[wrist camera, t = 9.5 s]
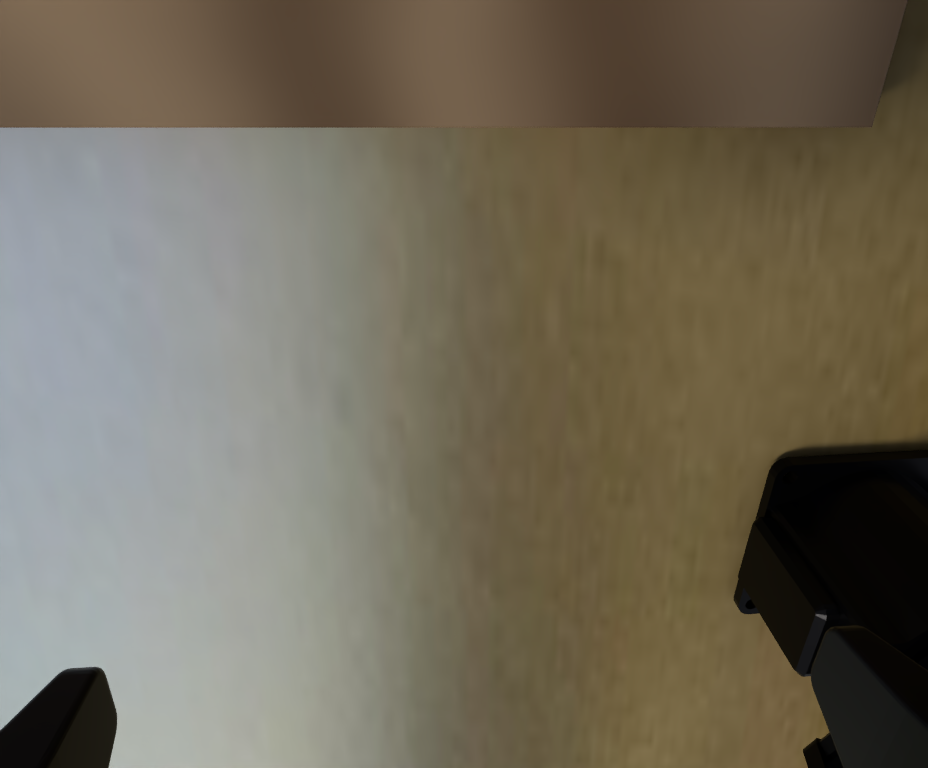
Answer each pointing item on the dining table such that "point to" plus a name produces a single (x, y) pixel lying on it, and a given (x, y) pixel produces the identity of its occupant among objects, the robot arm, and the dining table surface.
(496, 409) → the dining table surface
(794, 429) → the dining table surface
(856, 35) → the keeper board
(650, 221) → the dining table surface
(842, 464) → the robot arm
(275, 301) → the dining table surface
